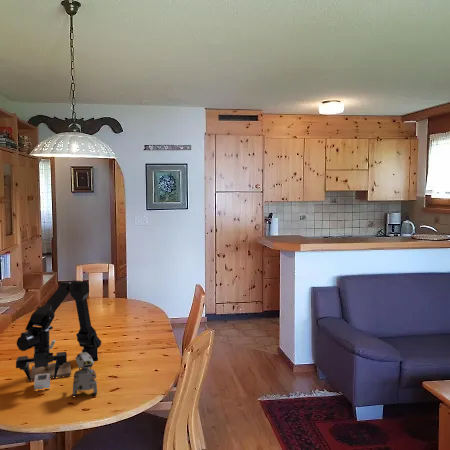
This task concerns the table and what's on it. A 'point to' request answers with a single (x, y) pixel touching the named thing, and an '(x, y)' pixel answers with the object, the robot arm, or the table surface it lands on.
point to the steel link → (42, 381)
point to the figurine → (84, 374)
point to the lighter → (52, 344)
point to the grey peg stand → (52, 370)
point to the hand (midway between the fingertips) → (42, 380)
